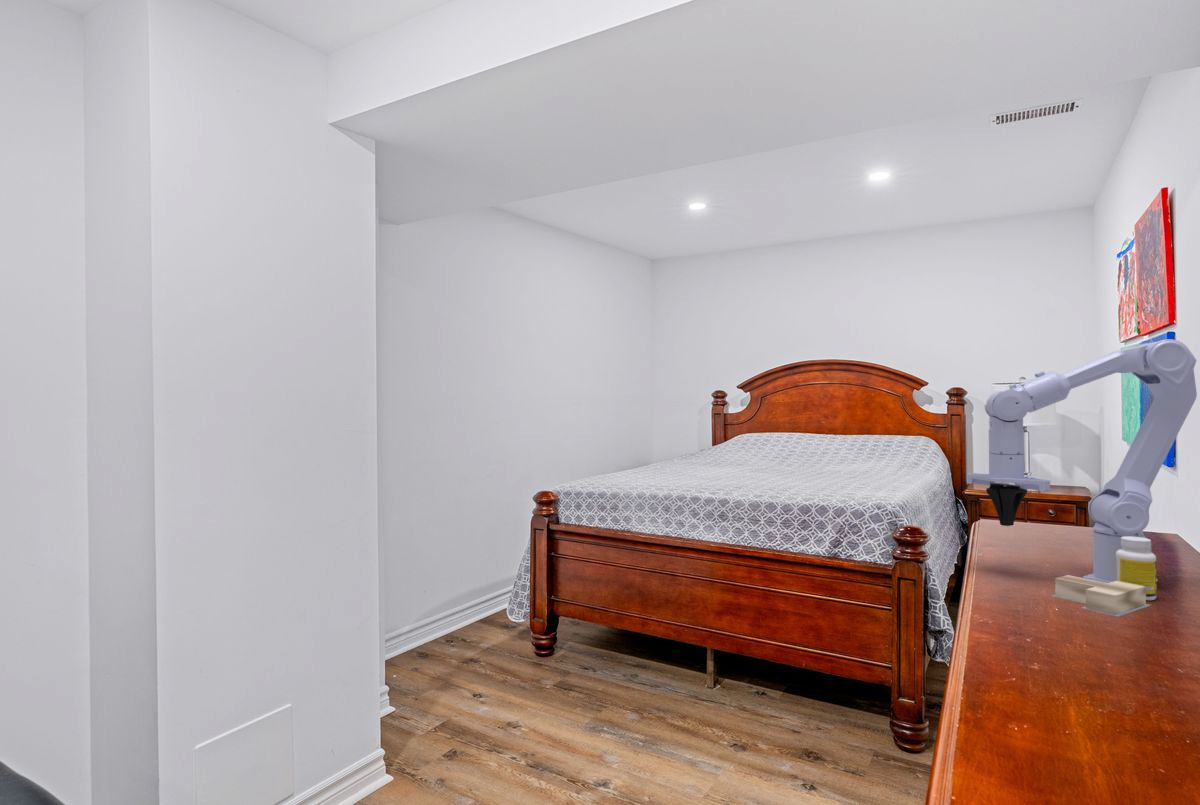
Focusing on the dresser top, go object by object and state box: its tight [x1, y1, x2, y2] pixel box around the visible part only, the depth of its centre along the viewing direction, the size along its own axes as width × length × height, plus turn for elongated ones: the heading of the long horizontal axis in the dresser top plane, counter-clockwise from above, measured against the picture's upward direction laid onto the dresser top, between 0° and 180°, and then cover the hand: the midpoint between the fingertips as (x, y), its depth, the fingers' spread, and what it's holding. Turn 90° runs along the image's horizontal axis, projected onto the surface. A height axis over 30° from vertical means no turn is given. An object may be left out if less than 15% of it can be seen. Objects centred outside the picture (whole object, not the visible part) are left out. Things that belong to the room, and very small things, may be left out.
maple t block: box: [1054, 574, 1147, 615], centre depth 110 cm, size 10×10×3 cm
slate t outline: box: [1050, 594, 1152, 618], centre depth 110 cm, size 11×11×1 cm
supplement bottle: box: [1116, 536, 1158, 601], centre depth 113 cm, size 5×5×10 cm
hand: (1006, 525), depth 127 cm, fingers closed
